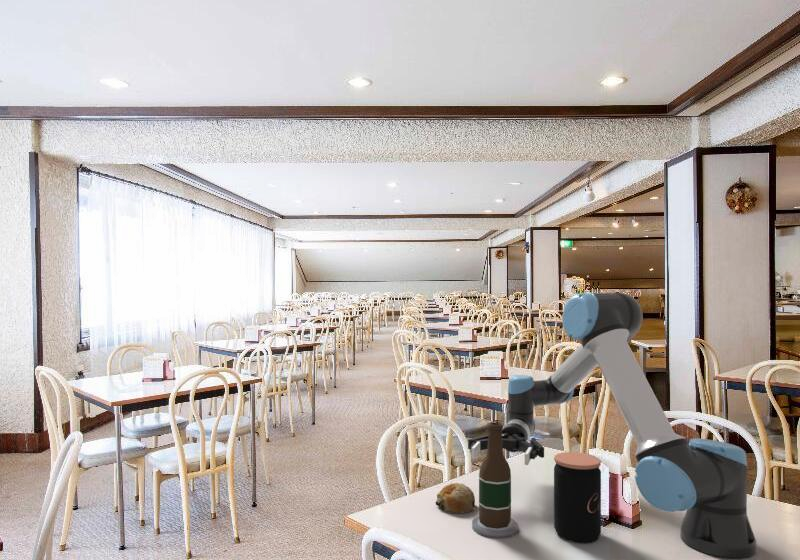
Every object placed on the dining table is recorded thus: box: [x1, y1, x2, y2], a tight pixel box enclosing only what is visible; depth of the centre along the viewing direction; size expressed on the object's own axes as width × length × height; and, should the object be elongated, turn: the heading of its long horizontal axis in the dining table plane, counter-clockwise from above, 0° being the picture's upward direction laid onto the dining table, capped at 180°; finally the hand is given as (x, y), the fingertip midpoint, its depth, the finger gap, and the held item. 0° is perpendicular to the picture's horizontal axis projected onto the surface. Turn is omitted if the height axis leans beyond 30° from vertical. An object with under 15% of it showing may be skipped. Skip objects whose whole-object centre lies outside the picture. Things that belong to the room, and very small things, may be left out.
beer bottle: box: [478, 422, 512, 529], centre depth 140 cm, size 8×8×24 cm
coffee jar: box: [553, 451, 602, 544], centre depth 136 cm, size 11×11×18 cm
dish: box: [471, 515, 519, 539], centre depth 140 cm, size 11×11×1 cm
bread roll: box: [435, 482, 476, 514], centre depth 153 cm, size 10×10×8 cm
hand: (498, 456), depth 145 cm, fingers open, 13 cm apart
